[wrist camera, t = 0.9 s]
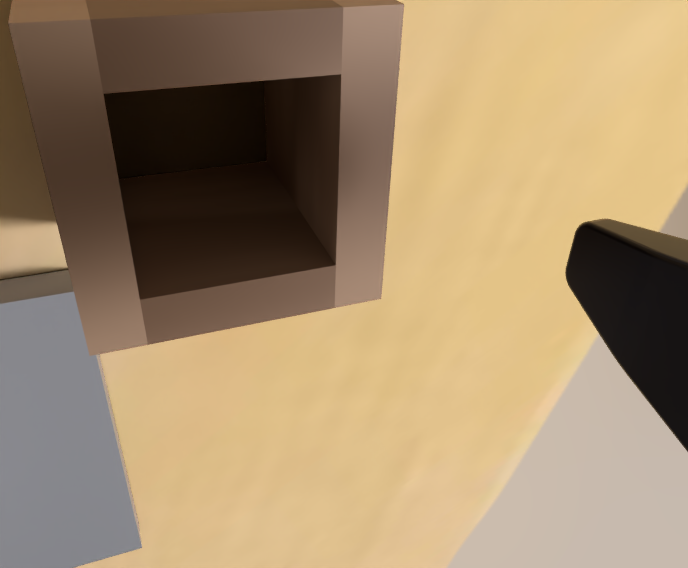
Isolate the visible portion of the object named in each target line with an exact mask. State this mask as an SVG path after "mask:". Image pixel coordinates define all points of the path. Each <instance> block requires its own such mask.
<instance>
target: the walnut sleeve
mask: <svg viewBox="0 0 688 568" xmlns="http://www.w3.org/2000/svg"><path fill="white" fill-rule="evenodd" d="M403 11H404V4H403V3H401V2H399V1H397V0H12V3H11V9H10V15H9V21H8V25H9V29H10V33H11V38H12V42H13V46H14V50H15V54H16V58H17V62H18V66H19V70H20V74H21V78H22V82H23V86H24V91H25V95H26V99H27V103H28V107H29V111H30V115H31V119H32V123H33V127H34V131H35V135H36V139H37V144H38V148H39V152H40V156H41V160H42V164H43V168H44V172H45V176H46V180H47V184H48V188H49V192H50V197H51V201H52V205H53V209H54V213H55V217H56V221H57V225H58V229H59V233H60V237H61V241H62V245H63V249H64V254H65V258H66V262H67V266H68V270H69V274H70V278H71V282H72V286H73V290H74V294H75V298H76V302H77V307H78V311H79V315H80V319H81V323H82V327H83V331H84V335H85V339H86V343H87V347H88V351H89V355H90V356H93V355H98V354H103V353H108V352H113V351H118V350H123V349H128V348H133V347H138V346H144V345H149V344H154V343H159V342H164V341H169V340H174V339H179V338H184V337H189V336H194V335H199V334H204V333H209V332H215V331H220V330H225V329H230V328H235V327H240V326H245V325H250V324H255V323H260V322H265V321H270V320H275V319H280V318H286V317H291V316H296V315H301V314H306V313H311V312H316V311H321V310H326V309H331V308H336V307H341V306H346V305H351V304H357V303H362V302H367V301H372V300H377V299H381V294H382V281H383V268H384V255H385V242H386V229H387V217H388V204H389V191H390V178H391V165H392V152H393V139H394V127H395V114H396V101H397V88H398V75H399V62H400V49H401V37H402V24H403ZM253 81H264V97H265V123H266V150H267V161H263V162H255V163H247V164H238V165H230V166H222V167H214V168H205V169H197V170H189V171H180V172H172V173H164V174H155V175H147V176H139V177H131V178H122V179H118V174H117V168H116V162H115V157H114V151H113V145H112V140H111V134H110V128H109V123H108V117H107V112H106V106H105V100H104V95H103V94H106V93H118V92H130V91H143V90H155V89H167V88H179V87H192V86H204V85H216V84H228V83H240V82H253Z"/></svg>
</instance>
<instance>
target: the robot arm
mask: <svg viewBox="0 0 688 568" xmlns="http://www.w3.org/2000/svg"><path fill="white" fill-rule="evenodd" d="M566 280H567V283H568V285H569V287H570V289H571V290H572V292H573V293H574V295H575V297H576V298H577V300H578V301H579V303H580V304H581V306H582V308H583V309H584V311H585V312H586V314H587V315H588V317H589V318H590V320H591V322H592V323H593V325H594V326H595V328H596V329H597V331H598V333H599V334H600V336H601V337H602V339H603V340H604V342H605V343H606V345H607V347H608V348H609V350H610V351H611V353H612V354H613V356H614V357H615V359H616V360H617V362H618V363H619V364H620V366H621V367H622V368H623V370H624V371H625V372H626V374H627V375H628V376H629V378H630V379H631V380H632V382H633V383H634V384H635V385H636V387H637V388H638V389H639V390H640V391H641V393H642V394H643V395H644V397H645V398H646V399H647V401H648V402H649V403H650V404H651V406H652V407H653V408H654V409H655V411H656V412H657V413H658V415H659V416H660V417H661V418H662V420H663V421H664V422H665V424H666V425H667V426H668V427H669V429H670V430H671V431H672V432H673V434H674V435H675V436H676V438H677V439H678V440H679V441H680V443H681V444H682V445H683V446H684V448H685V449H686V450H687V451H688V240H686V239H682V238H678V237H674V236H671V235H667V234H663V233H660V232H656V231H652V230H648V229H645V228H641V227H637V226H633V225H630V224H626V223H622V222H618V221H615V220H611V219H599V220H593V221H588V222H584V223H582V224H581V225H579V227H578V228H577V230H576V232H575V235H574V239H573V243H572V247H571V251H570V254H569V258H568V262H567V266H566Z"/></svg>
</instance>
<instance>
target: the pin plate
mask: <svg viewBox="0 0 688 568" xmlns="http://www.w3.org/2000/svg"><path fill="white" fill-rule="evenodd" d="M139 548H142V544H141V537H140V529H139V522H138V518H137V514H136V509H135V505H134V501H133V496H132V492H131V488H130V484H129V479H128V475H127V471H126V467H125V462H124V458H123V454H122V449H121V445H120V441H119V437H118V432H117V428H116V424H115V420H114V415H113V411H112V407H111V403H110V398H109V394H108V390H107V385H106V381H105V377H104V373H103V368H102V364H101V360H100V356H99V354H98V355H93V356H90V355H89V351H88V347H87V343H86V339H85V335H84V331H83V327H82V323H81V319H80V315H79V311H78V307H77V302H76V298H75V294H74V290H73V286H72V282H71V278H70V274H69V270H63V271H57V272H51V273H44V274H38V275H32V276H25V277H19V278H13V279H6V280H0V568H74V567H77V566H81V565H84V564H87V563H91V562H94V561H98V560H101V559H105V558H108V557H112V556H115V555H119V554H122V553H126V552H129V551H133V550H136V549H139Z"/></svg>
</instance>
